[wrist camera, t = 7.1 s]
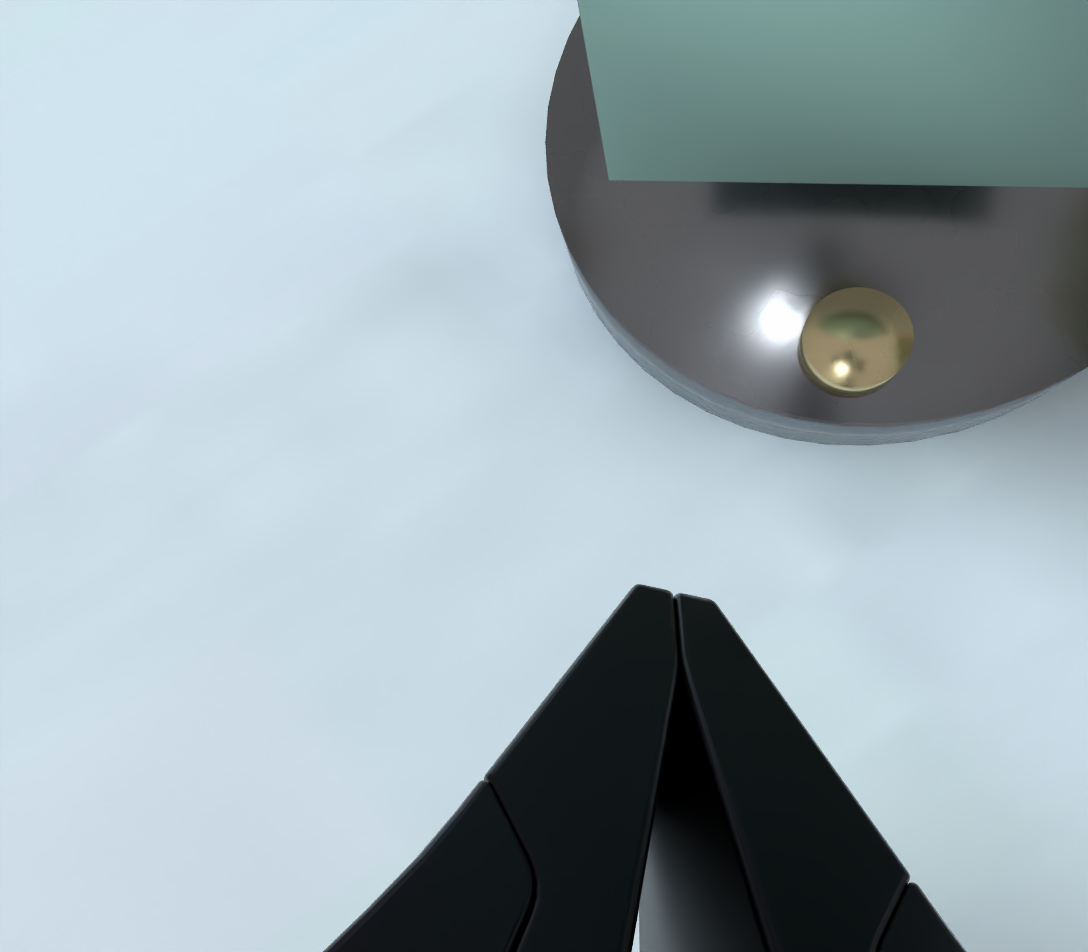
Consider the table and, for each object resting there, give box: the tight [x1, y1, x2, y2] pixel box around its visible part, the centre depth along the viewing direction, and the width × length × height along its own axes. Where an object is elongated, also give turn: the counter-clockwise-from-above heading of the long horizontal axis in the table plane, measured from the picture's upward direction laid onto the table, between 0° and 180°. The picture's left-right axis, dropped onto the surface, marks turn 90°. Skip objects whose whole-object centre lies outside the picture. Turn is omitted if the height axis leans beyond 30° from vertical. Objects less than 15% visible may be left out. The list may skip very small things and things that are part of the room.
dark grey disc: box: [545, 16, 1088, 445], centre depth 16 cm, size 14×14×3 cm
